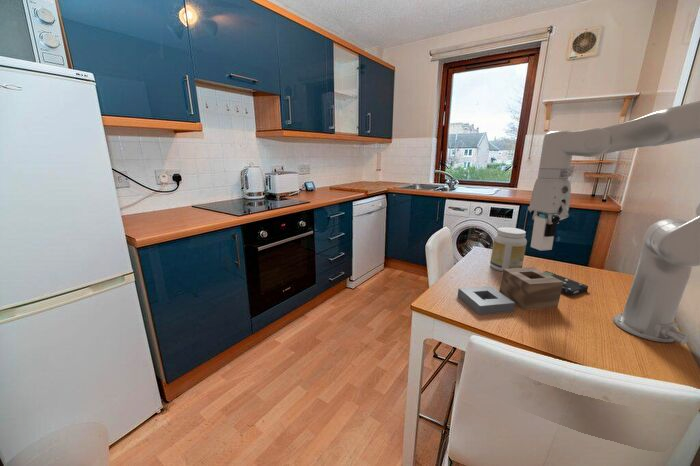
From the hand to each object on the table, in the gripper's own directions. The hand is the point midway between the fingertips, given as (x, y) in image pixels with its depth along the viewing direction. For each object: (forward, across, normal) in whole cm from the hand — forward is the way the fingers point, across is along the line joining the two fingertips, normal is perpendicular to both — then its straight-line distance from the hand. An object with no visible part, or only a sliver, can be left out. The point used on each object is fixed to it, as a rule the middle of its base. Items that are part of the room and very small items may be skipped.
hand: (542, 233), depth 90 cm
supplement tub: (+23, +27, -11) cm, 37 cm away
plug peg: (+5, 0, 0) cm, 5 cm away
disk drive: (+24, +9, -19) cm, 32 cm away
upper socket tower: (+23, +1, +1) cm, 23 cm away
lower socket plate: (+23, +1, +17) cm, 28 cm away
